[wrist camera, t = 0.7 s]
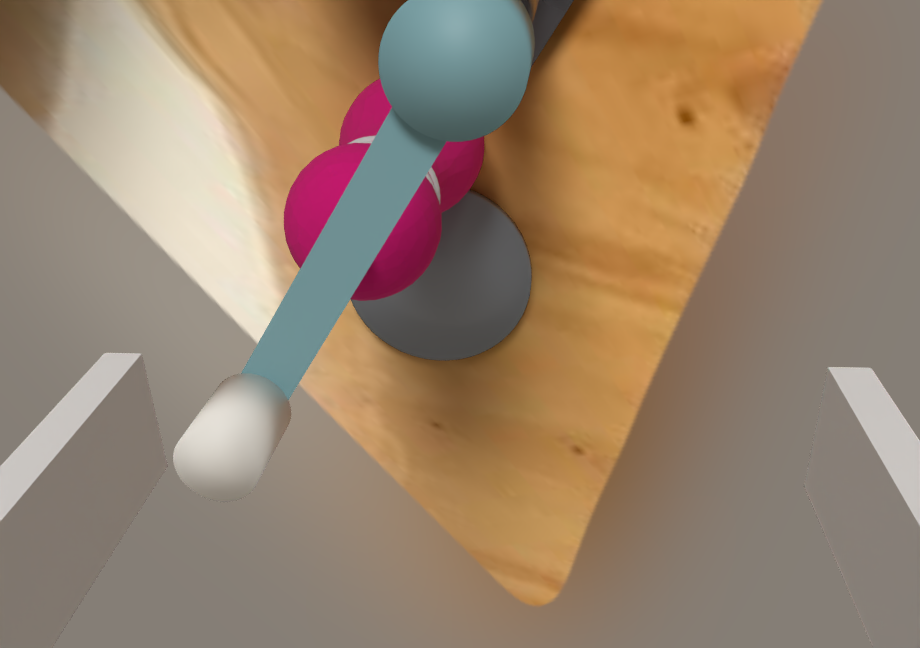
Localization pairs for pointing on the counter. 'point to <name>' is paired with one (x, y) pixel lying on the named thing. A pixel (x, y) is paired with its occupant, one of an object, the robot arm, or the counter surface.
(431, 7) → the pegged blue crossbar
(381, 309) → the slate coaster
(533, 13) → the post
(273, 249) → the counter surface
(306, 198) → the pepper mill
